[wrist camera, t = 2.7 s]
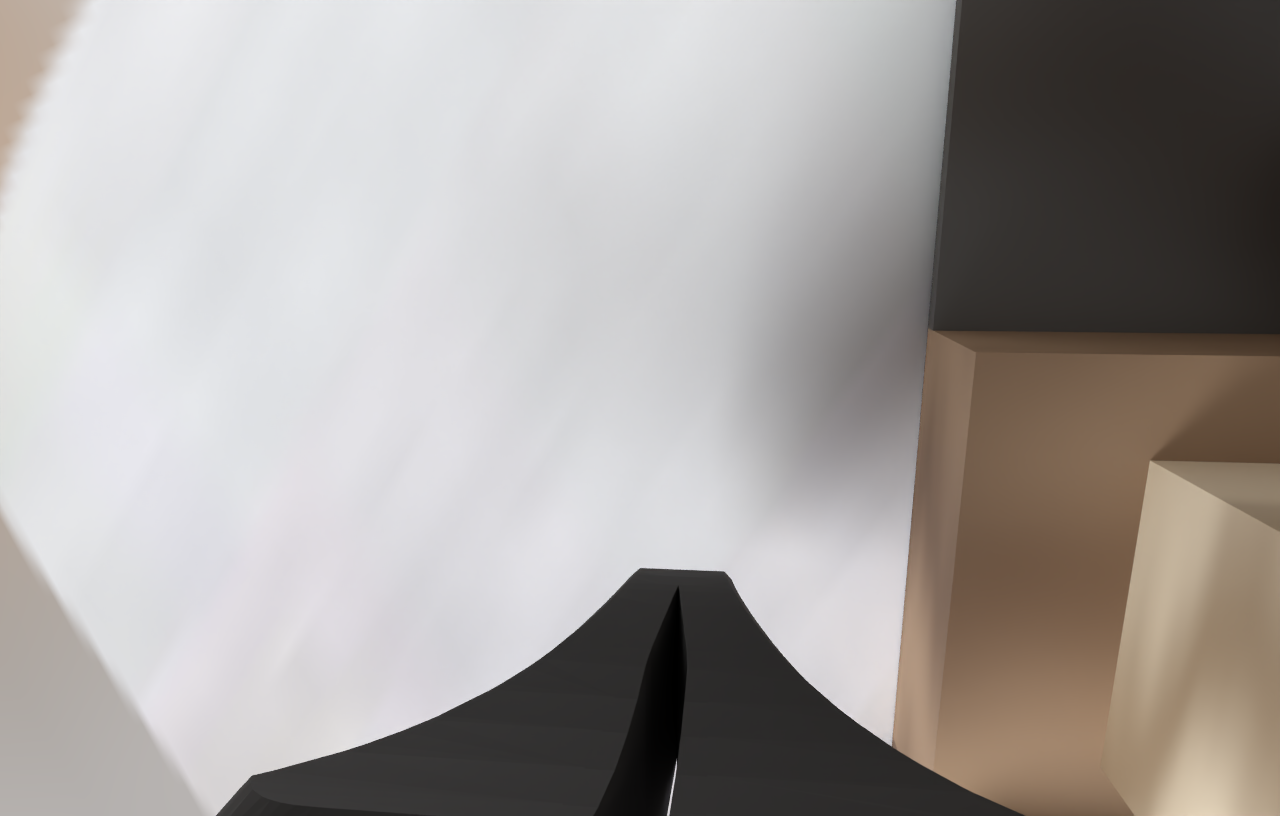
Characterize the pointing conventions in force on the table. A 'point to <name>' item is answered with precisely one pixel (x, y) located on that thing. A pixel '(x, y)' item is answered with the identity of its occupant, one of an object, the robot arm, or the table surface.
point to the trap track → (1079, 360)
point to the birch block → (1201, 646)
